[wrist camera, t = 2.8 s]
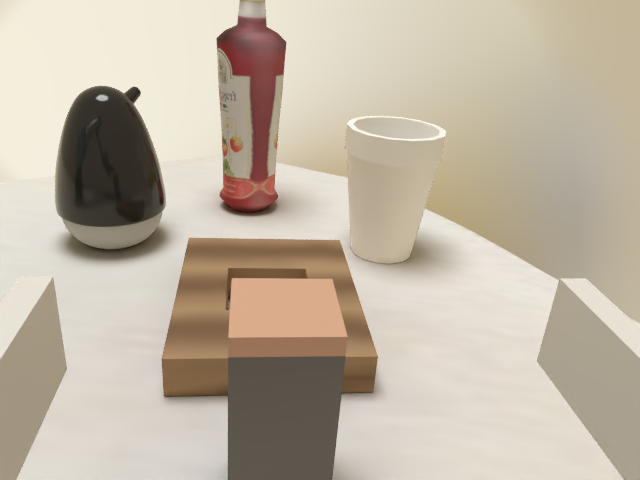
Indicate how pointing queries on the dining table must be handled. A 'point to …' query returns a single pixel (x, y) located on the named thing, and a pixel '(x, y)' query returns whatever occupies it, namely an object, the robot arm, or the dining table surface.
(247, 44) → the liquor
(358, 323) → the socket plate
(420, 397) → the dining table surface
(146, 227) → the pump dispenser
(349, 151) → the foam cup
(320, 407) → the grey tall block
